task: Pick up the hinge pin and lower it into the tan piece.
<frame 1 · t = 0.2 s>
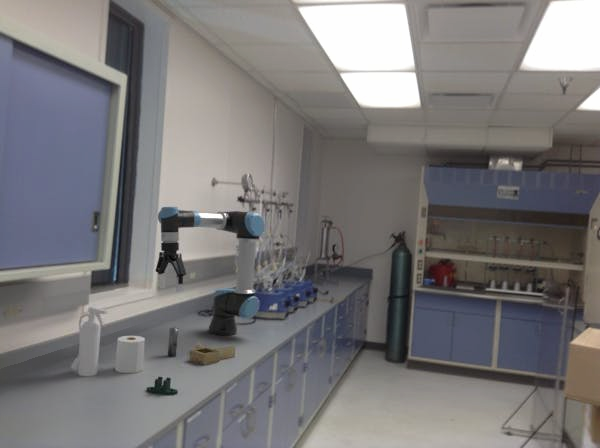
hand: (170, 289, 233), 28 cm above the worktop, tool pointing down, fingers open, 13 cm apart
tan piece: (204, 361, 225), on the worktop
toilet paper: (128, 369, 205), on the worktop
fire extinguisher: (86, 373, 197), on the worktop
hinge pin: (171, 355, 228), on the worktop
mount: (161, 393, 184), on the worktop
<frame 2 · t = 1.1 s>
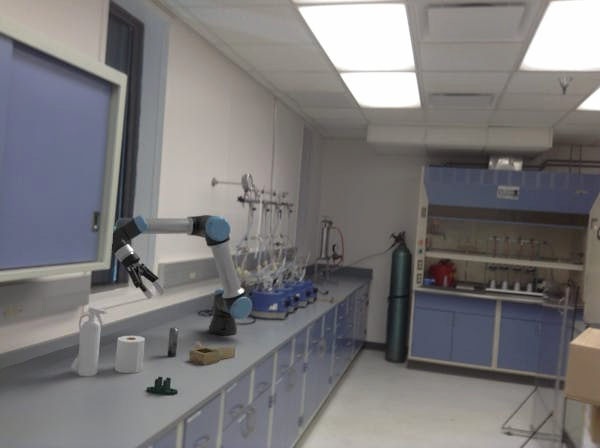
hand: (157, 295, 230), 25 cm above the worktop, tool tilted 45°, fingers open, 13 cm apart
nothing on the worktop moved.
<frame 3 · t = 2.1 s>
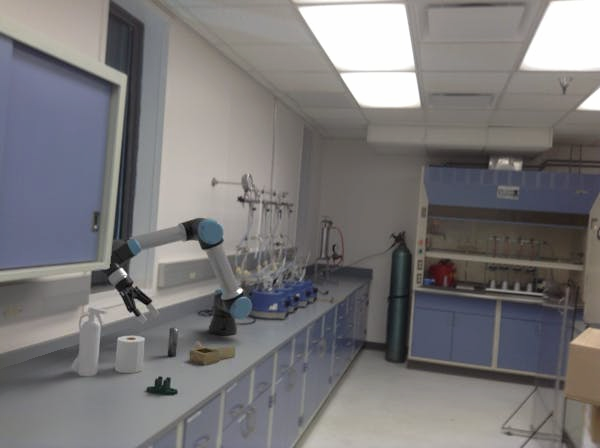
hand: (151, 318, 229), 15 cm above the worktop, tool tilted 45°, fingers open, 13 cm apart
nothing on the worktop moved.
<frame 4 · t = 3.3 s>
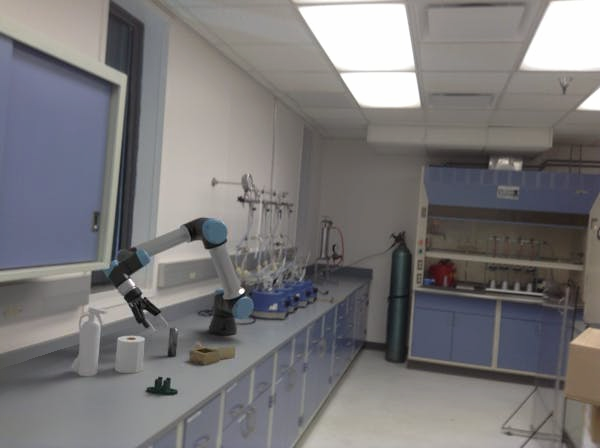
hand: (160, 330, 228), 11 cm above the worktop, tool tilted 45°, fingers open, 13 cm apart
nothing on the worktop moved.
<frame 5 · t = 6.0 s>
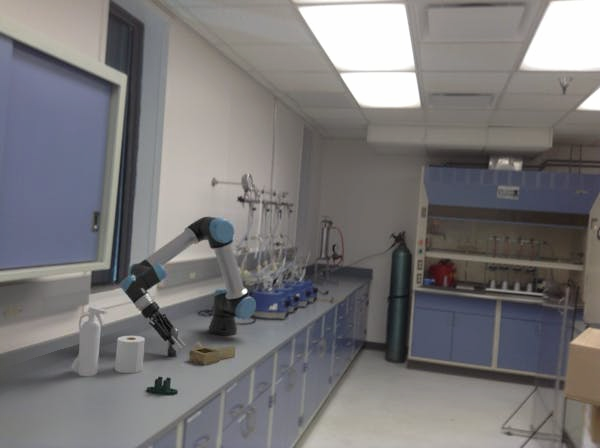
hand: (180, 348, 228), 4 cm above the worktop, tool tilted 45°, fingers closed on hinge pin, 3 cm apart
hinge pin: (171, 355, 228), on the worktop, touching gripper
everything else where it was.
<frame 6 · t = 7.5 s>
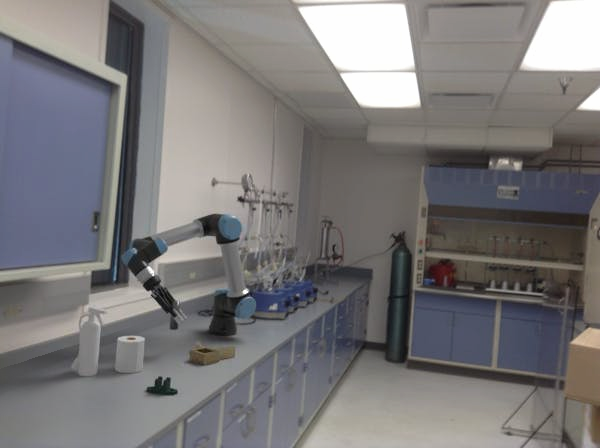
hand: (182, 321, 228), 16 cm above the worktop, tool tilted 45°, fingers closed on hinge pin, 3 cm apart
hinge pin: (173, 328, 228), point 12 cm above the worktop, touching gripper
everything else where it was.
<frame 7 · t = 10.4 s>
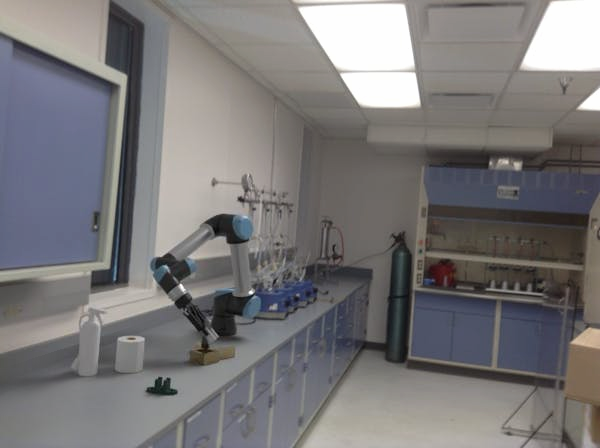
hand: (214, 339, 224), 10 cm above the worktop, tool tilted 45°, fingers closed on hinge pin, 3 cm apart
hinge pin: (205, 347, 225), point 6 cm above the worktop, touching gripper
everything else where it was.
when the fingers open (6 cm above the worktop, at t = 11.9 s): hinge pin drops 2 cm, resting in tan piece.
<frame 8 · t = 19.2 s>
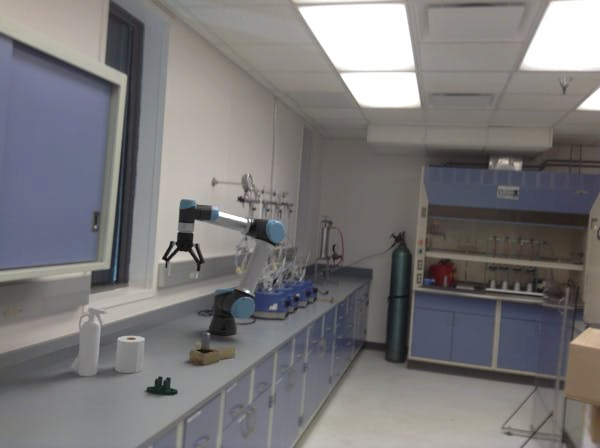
hand: (182, 276, 249), 32 cm above the worktop, tool pointing down, fingers open, 13 cm apart
hinge pin: (204, 361, 225), resting in tan piece
everything else where it was.
at the end: hinge pin 0.1 cm off-centre on the tan piece, point 0.0 cm above the tan piece's base; hinge pin tilted 1°; the gripper is holding nothing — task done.
